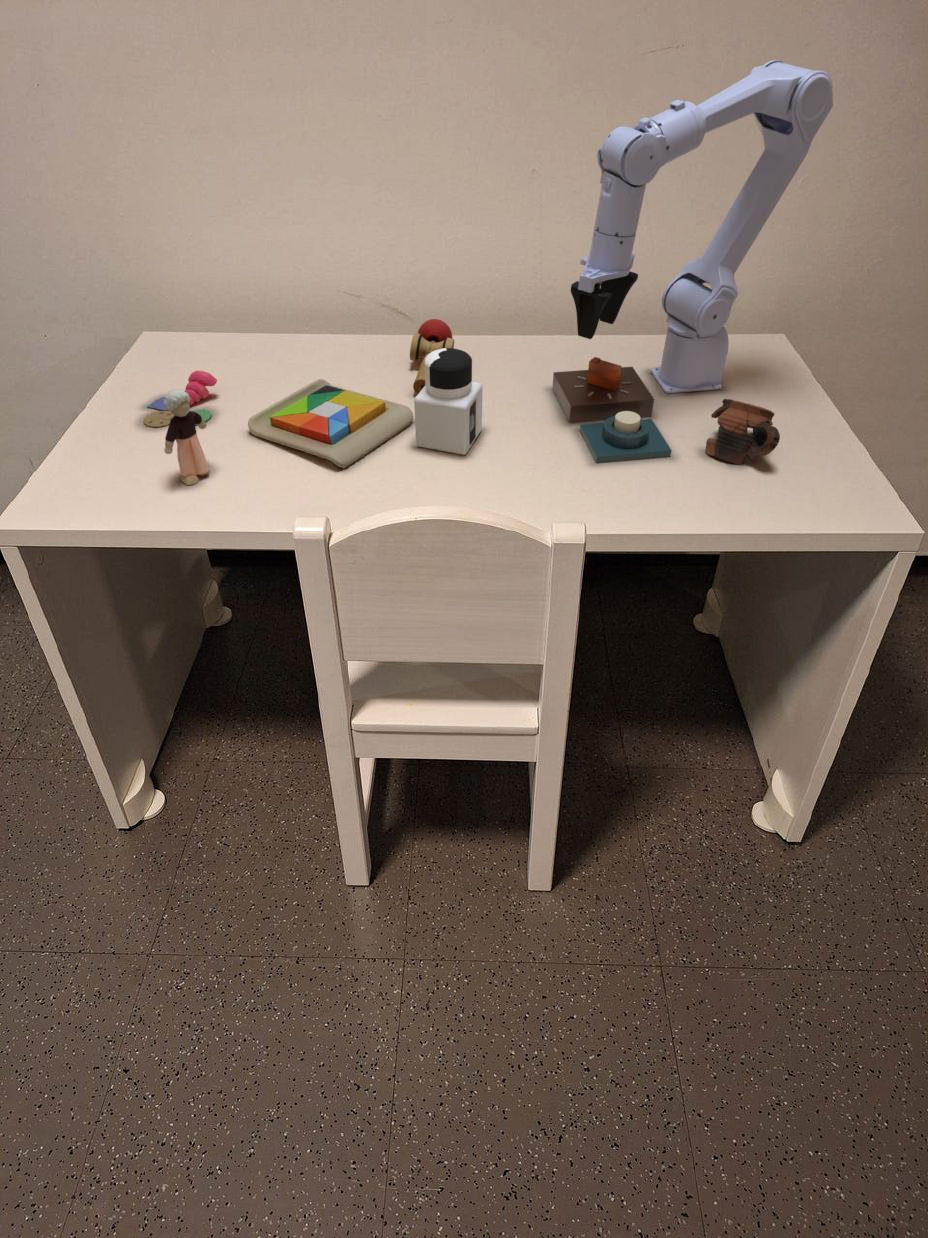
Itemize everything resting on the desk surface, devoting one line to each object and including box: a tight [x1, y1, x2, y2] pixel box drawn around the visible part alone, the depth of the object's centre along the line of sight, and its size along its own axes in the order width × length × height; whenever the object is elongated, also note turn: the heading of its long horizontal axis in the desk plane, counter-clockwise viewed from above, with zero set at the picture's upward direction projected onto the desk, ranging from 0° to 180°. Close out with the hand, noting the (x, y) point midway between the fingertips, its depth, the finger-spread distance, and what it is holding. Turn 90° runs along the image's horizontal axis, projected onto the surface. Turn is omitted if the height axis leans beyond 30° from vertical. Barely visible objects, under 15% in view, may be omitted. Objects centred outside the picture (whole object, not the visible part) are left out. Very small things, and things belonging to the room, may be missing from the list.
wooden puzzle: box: [247, 378, 414, 469], centre depth 121 cm, size 18×19×4 cm
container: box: [413, 348, 483, 456], centre depth 116 cm, size 8×8×13 cm
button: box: [614, 411, 642, 434], centre depth 116 cm, size 4×4×2 cm
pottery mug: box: [704, 398, 781, 466], centre depth 116 cm, size 12×10×8 cm
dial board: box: [551, 366, 655, 424], centre depth 127 cm, size 13×11×3 cm
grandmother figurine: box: [163, 389, 211, 486], centre depth 109 cm, size 8×4×13 cm, turn 164°
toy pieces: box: [142, 370, 218, 428], centre depth 125 cm, size 12×11×4 cm
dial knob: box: [587, 356, 623, 391], centre depth 124 cm, size 5×2×4 cm, turn 54°
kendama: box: [409, 318, 455, 395], centre depth 134 cm, size 8×6×18 cm
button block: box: [579, 415, 672, 464], centre depth 118 cm, size 11×9×3 cm
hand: (596, 329), depth 119 cm, fingers open, 7 cm apart
